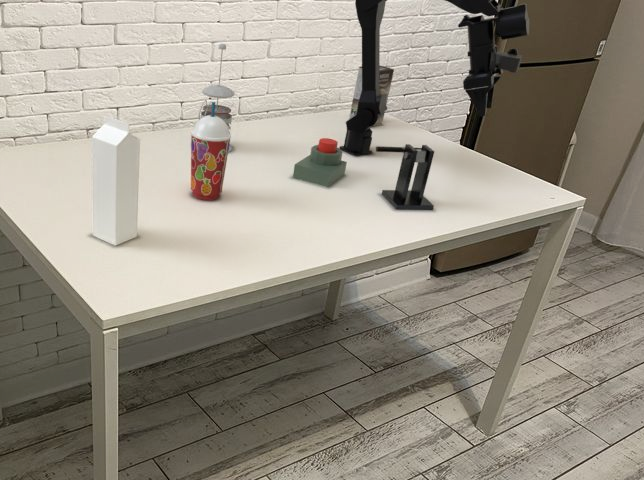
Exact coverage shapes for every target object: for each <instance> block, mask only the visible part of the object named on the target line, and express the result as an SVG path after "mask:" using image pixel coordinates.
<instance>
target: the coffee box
mask: <svg viewBox="0 0 644 480" xmlns="http://www.w3.org/2000/svg"><path fill="white" fill-rule="evenodd" d="M357 71H358V72H357V76H356V81H355V86H354V91H353V96H352V100H351V107H350V111H349V112H350V113H349V117H348V120H349V119H351V118H352V117H354V116H355V115H356V113H357V107H358V102H359V98H360V95H361V91H362V66H358V70H357ZM394 72H395V69H394V68H391V67H387V66H384V65H380V64H379V87H380V90H381V93H382V94H387V100H386V105H387V103H388V100H389V94H390V91H391V86H392V82H393V81H392V80H393V77H394ZM384 117H385V115H384V116H383V117H382V118H381V120H379V121H378V122H377V123H376V124H374V125H373V127H375V126H376V127H377V126H380V125H383V123H384Z"/></svg>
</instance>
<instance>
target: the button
mask: <svg viewBox="0 0 644 480" xmlns="http://www.w3.org/2000/svg"><path fill="white" fill-rule="evenodd" d="M338 144H339V142H338V141H337V140H336V139H333V138H328V137H327V138H326V137H323V138H320V139H319V140H318V144H317V145H318V151H320V152H323V153H330V154H332V153H336V149H337V148H338Z"/></svg>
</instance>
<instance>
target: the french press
mask: <svg viewBox="0 0 644 480" xmlns="http://www.w3.org/2000/svg"><path fill="white" fill-rule="evenodd" d="M218 49H219V50H221V53H220V63H219V64H220V66H219V77H218V84H213V85H212V84H211V85H208V86H206V87H204V88H203V89H202V90H201V92H202V94H203V96H207V97H210V98H214V99H217V100H216V104H215V112H214V115H215V116H217V117H219V118H221V119H222V120H223V121H224V122H225V123H226V124H227V126H228V129H229V132H230V133H231V126H230V125H232V119H233V115H232V114H230V113H231V112H232V109H231V108H230V107H228V106H225V105H220V104H219V99H229V98H233V97H234V96H235V94H236V93H235V92H234V91H233V90H232V89H231V88H229V87H227V86H226V85H221V75H222V74H221V73H222V61H223V51H224V50H227V45H226V44H225V43H219V45H218ZM212 102H213V101H210V102H209V103H208V100H207V99H205V100H204V101H203V102H202V104H201V105H200V109H199V112H198V120H200V119H201V118H203V117H205V116H208V115H211V110H212ZM204 104H205V105H204ZM202 110H203V111H202ZM231 151H233V146H232V145H231V144H229V150H228V153H231Z"/></svg>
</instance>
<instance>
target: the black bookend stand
mask: <svg viewBox="0 0 644 480" xmlns="http://www.w3.org/2000/svg"><path fill="white" fill-rule="evenodd" d="M404 147H405V150H404V153H402V154H403V155H402V159H401V162H400V167H399V170H398V175H397V180H396V184H395V189H382V190H381V196H382V197H383V198H384V199H385V200H386V201H387V202H388V203H389V204H390V206H392V208H394V210H395V211H434V208H435V205H434V204H433V203H432V202H431V201H430V200H429V199H427V197H425V196H424V194H425V190H426V186H427V182H428V180H429V179H428V178H429V175H430V171H431V167H432V164H433V160H434V155H435V150H433V149H432V148H431V147H430V146H428V145H427V144H422V145H421V147H420V148H421V150H424V151H426V156H425V162H417V165H416V169H415V172H414V176H413V171H414V168H415V164H416V162H415V160H416V156H417V152H418V151H417V150H416V149H415V148H416V147H414V146H413V145H411V144H410V143H406V144H405V145H404ZM412 176H413V181H412V185H411V188H410V184H411V180H412ZM409 189H411V190H409Z"/></svg>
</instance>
